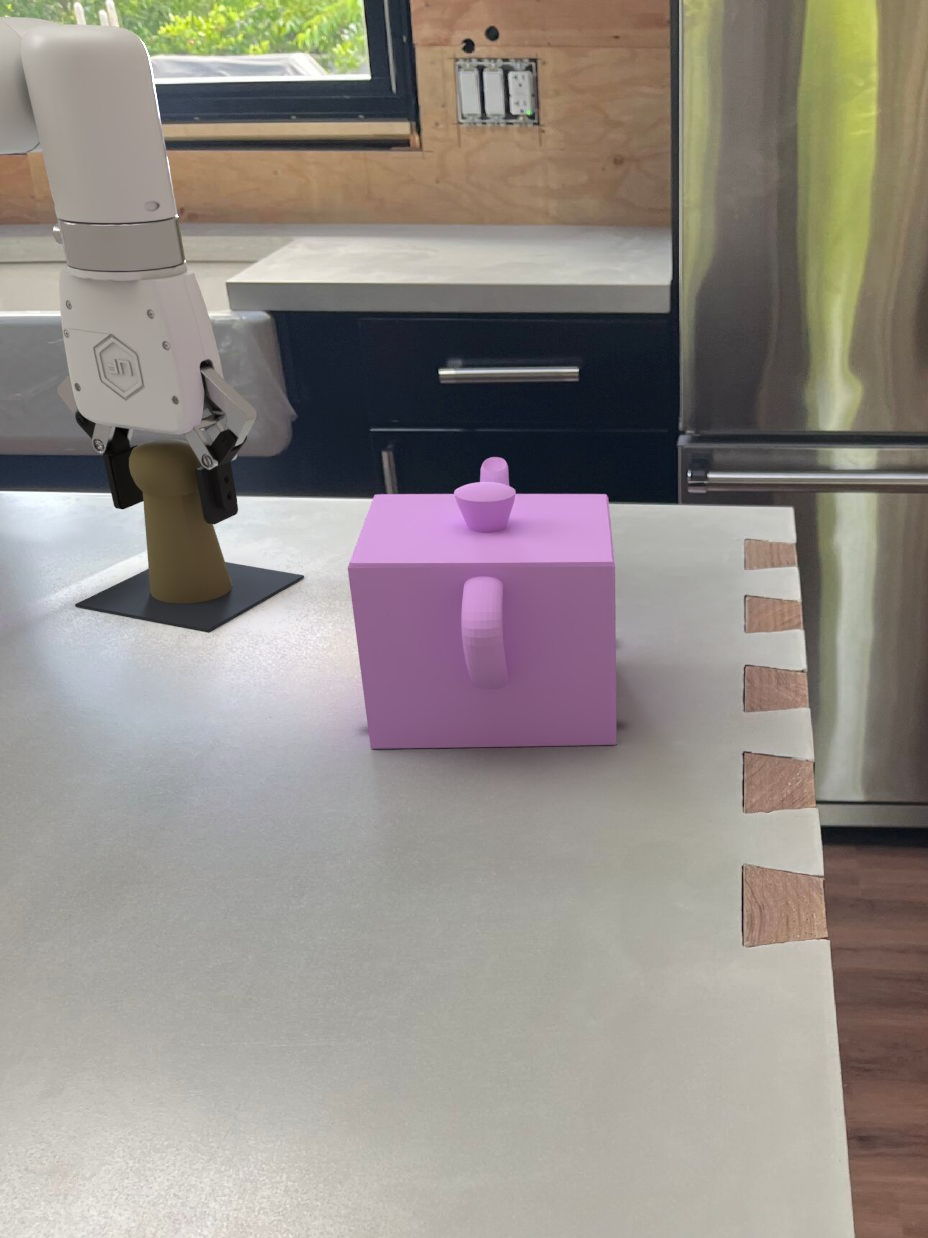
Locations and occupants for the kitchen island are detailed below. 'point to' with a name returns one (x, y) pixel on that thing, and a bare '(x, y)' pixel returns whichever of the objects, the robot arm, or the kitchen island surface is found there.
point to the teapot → (486, 617)
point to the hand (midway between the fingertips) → (176, 509)
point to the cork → (177, 525)
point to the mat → (203, 616)
